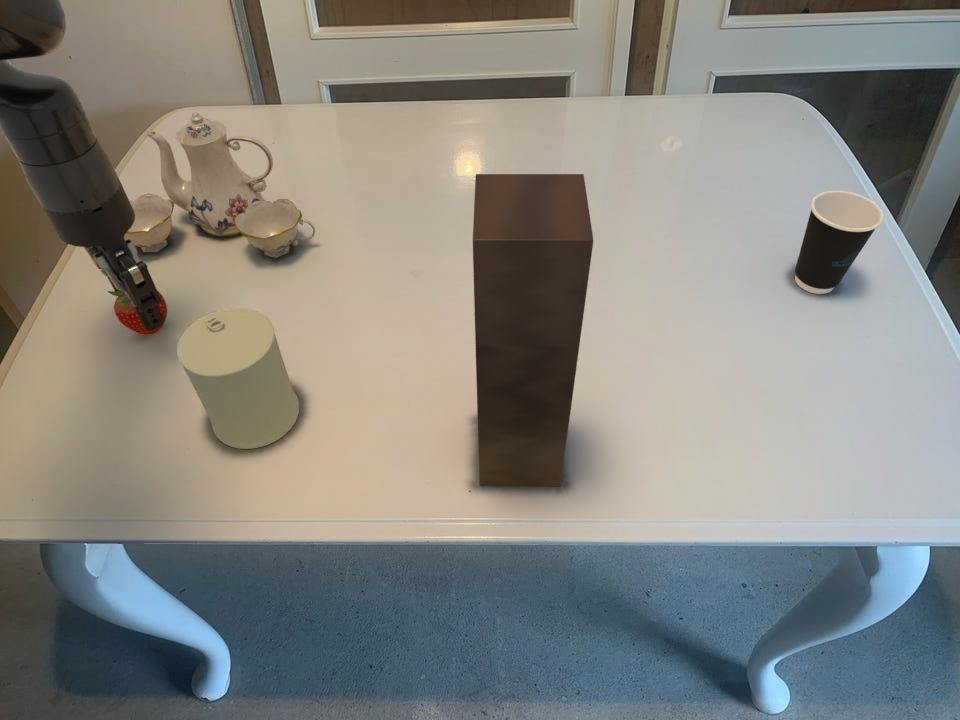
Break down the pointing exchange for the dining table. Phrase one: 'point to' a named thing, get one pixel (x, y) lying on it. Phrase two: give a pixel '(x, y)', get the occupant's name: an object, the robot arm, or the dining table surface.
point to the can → (239, 377)
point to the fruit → (134, 313)
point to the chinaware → (214, 194)
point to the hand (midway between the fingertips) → (142, 310)
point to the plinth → (528, 320)
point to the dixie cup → (834, 238)
